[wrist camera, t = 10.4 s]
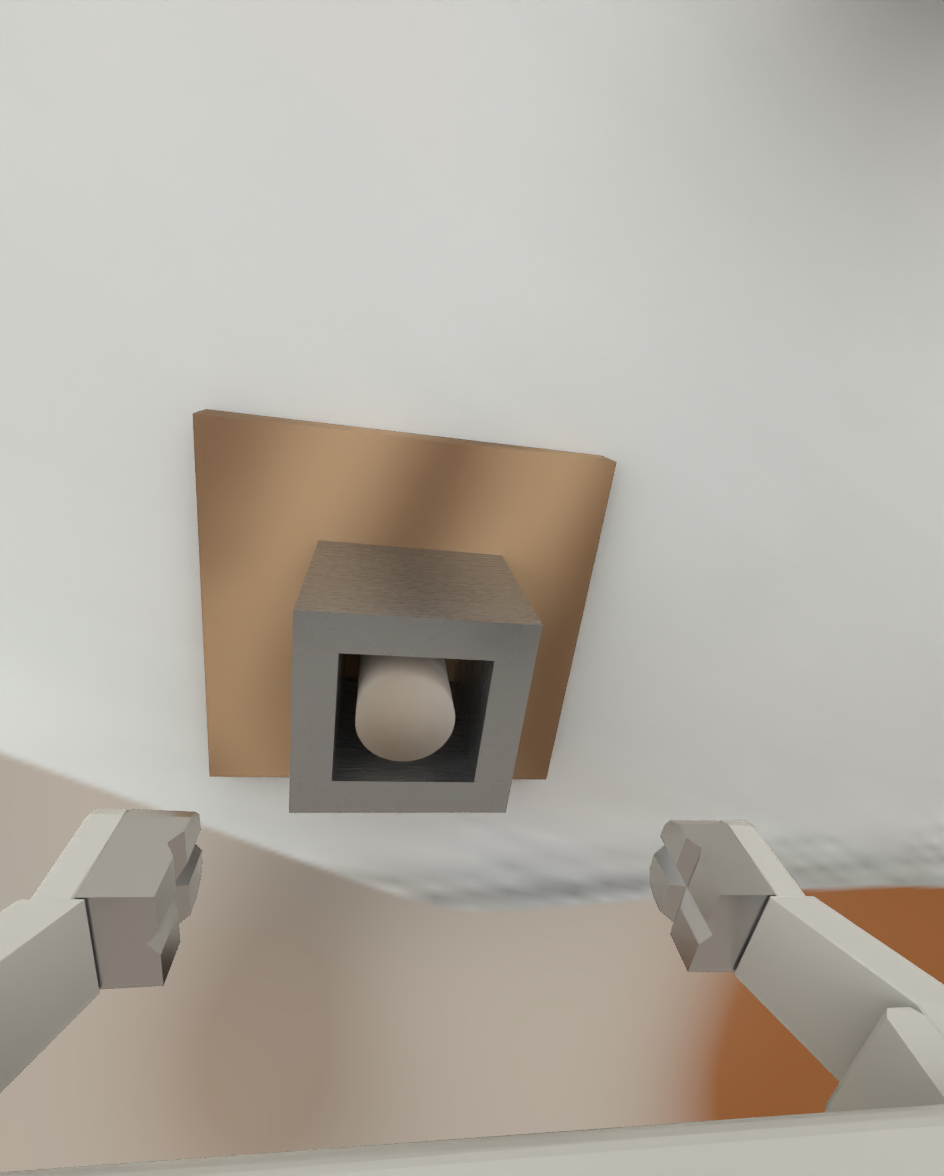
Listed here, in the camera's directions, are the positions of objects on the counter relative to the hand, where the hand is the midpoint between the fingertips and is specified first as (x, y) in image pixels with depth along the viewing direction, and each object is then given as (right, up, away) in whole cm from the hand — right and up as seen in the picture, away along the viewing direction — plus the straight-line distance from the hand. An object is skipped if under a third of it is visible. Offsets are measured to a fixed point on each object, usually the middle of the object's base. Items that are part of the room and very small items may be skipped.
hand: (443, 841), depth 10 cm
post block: (-2, +4, +9) cm, 10 cm away
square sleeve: (-2, +3, +8) cm, 9 cm away
